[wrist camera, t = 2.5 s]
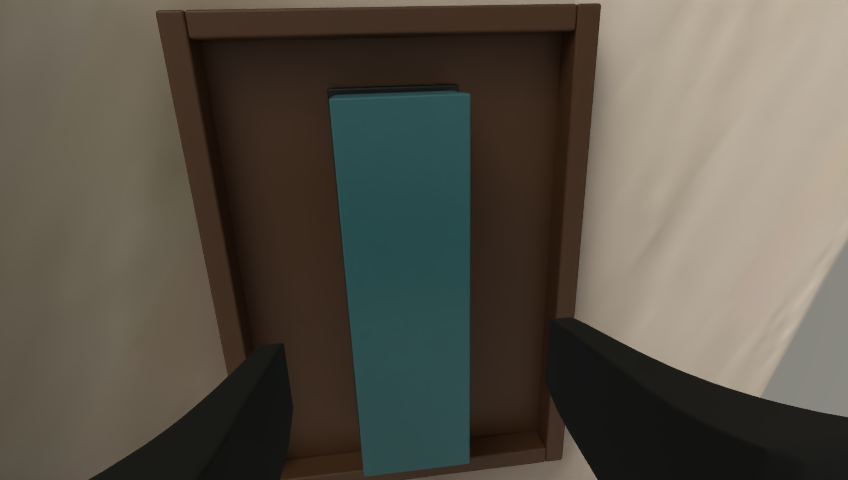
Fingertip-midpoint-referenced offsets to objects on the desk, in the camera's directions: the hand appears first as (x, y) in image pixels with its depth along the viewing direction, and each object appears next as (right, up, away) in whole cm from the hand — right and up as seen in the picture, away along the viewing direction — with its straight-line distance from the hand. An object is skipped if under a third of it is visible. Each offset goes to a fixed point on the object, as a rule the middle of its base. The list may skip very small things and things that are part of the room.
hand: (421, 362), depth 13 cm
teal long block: (-1, +2, +6) cm, 6 cm away
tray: (-1, +2, +6) cm, 7 cm away
